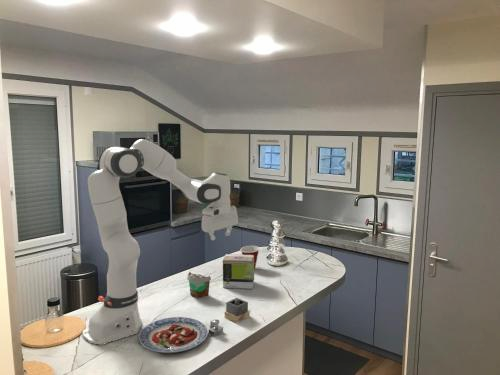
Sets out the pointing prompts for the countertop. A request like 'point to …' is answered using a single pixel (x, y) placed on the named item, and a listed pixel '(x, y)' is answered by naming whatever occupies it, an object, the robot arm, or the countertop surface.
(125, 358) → the countertop surface
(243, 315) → the keeper
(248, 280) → the tea box
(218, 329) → the silver knob on block
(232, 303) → the grey square ring
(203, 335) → the ceramic plate
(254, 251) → the plastic cup
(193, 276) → the food container
